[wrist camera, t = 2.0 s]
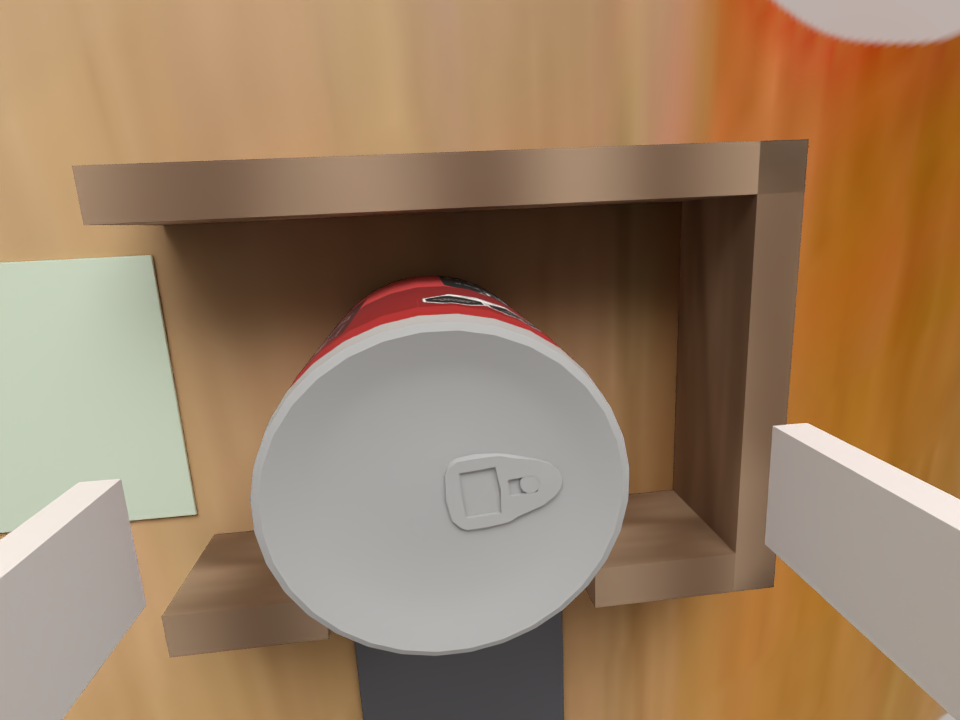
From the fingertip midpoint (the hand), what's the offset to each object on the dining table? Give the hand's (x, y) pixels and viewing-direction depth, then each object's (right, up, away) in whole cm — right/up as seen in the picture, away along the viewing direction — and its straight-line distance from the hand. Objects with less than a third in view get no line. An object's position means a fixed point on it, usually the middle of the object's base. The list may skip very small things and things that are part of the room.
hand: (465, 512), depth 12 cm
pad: (-15, +2, +9) cm, 18 cm away
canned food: (-2, +3, +11) cm, 11 cm away
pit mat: (0, -10, +14) cm, 17 cm away
